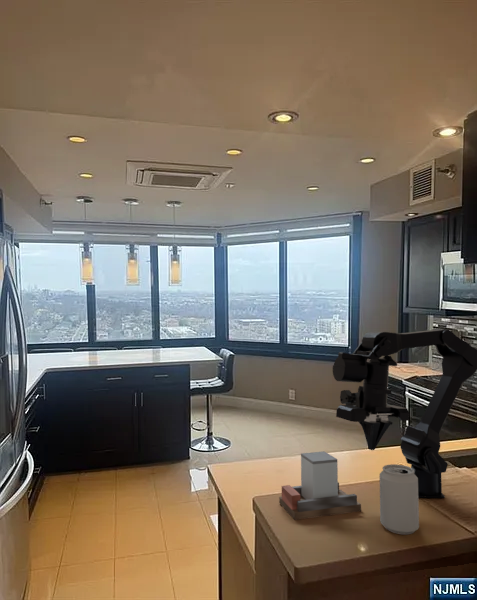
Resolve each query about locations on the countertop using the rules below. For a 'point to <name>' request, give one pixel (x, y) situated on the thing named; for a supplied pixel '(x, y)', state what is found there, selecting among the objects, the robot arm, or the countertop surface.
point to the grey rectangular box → (318, 475)
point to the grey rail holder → (316, 503)
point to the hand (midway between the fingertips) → (371, 449)
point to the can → (399, 499)
